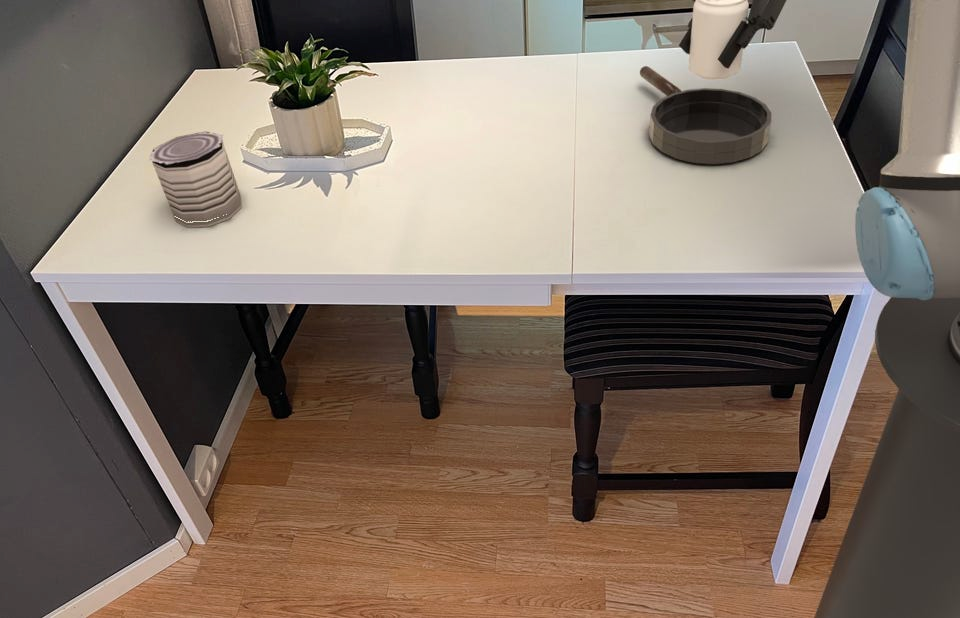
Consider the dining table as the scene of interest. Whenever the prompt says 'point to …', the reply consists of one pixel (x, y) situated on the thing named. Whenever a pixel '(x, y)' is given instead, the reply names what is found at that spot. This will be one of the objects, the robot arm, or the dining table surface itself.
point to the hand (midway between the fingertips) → (703, 56)
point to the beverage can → (715, 36)
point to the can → (197, 179)
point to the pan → (710, 126)
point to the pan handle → (658, 81)
